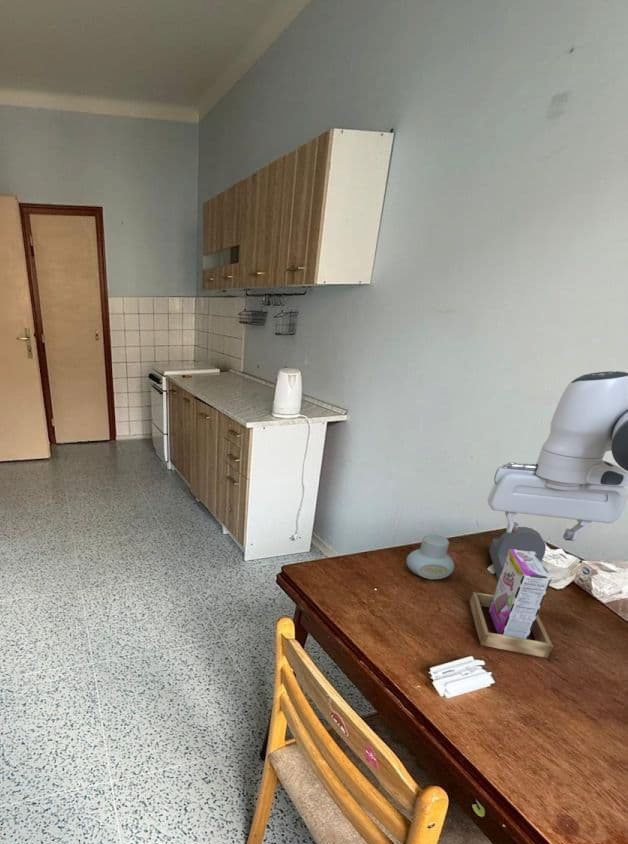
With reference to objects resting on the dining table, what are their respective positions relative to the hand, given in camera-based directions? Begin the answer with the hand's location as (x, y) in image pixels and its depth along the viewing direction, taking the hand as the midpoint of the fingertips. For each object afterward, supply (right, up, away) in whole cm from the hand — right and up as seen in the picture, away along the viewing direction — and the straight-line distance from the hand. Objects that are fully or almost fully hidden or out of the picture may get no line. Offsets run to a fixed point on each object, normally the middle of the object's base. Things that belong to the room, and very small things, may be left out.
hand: (539, 535), depth 91 cm
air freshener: (-5, -9, +31) cm, 33 cm away
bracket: (+19, -7, +33) cm, 39 cm away
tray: (+1, -20, +10) cm, 22 cm away
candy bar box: (+1, -20, +10) cm, 22 cm away
